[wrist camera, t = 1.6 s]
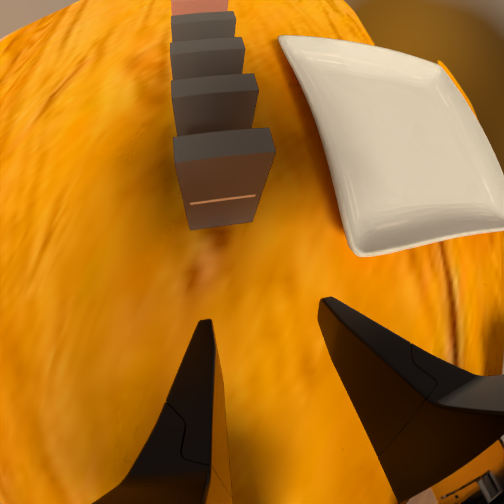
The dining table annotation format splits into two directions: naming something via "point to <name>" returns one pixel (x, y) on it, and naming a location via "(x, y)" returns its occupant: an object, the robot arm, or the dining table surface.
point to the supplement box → (423, 498)
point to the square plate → (397, 146)
